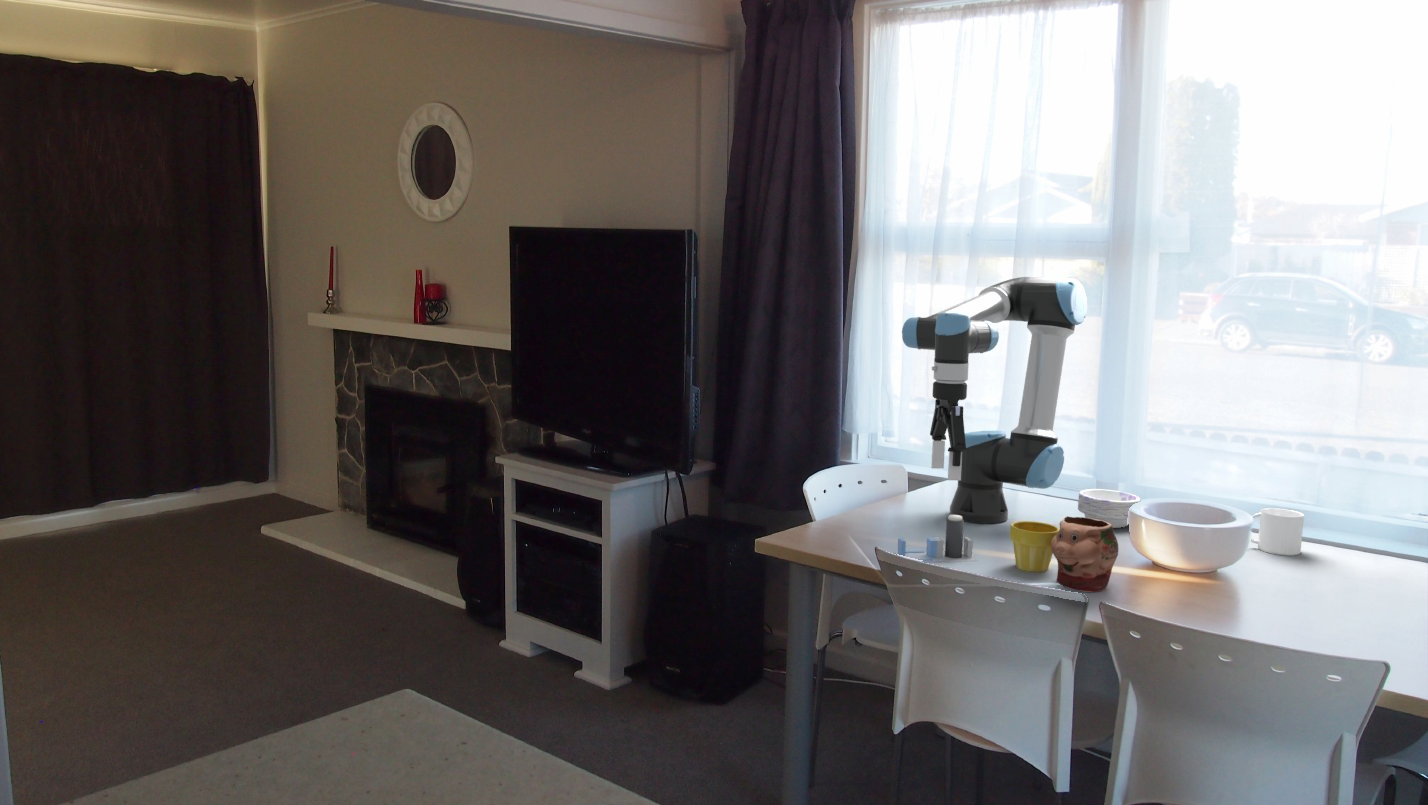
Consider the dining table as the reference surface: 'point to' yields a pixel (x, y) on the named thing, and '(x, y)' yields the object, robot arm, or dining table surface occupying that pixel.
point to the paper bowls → (1106, 505)
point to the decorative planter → (1084, 553)
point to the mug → (1280, 531)
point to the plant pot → (1032, 544)
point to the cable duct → (935, 550)
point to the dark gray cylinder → (954, 536)
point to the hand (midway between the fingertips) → (945, 474)
